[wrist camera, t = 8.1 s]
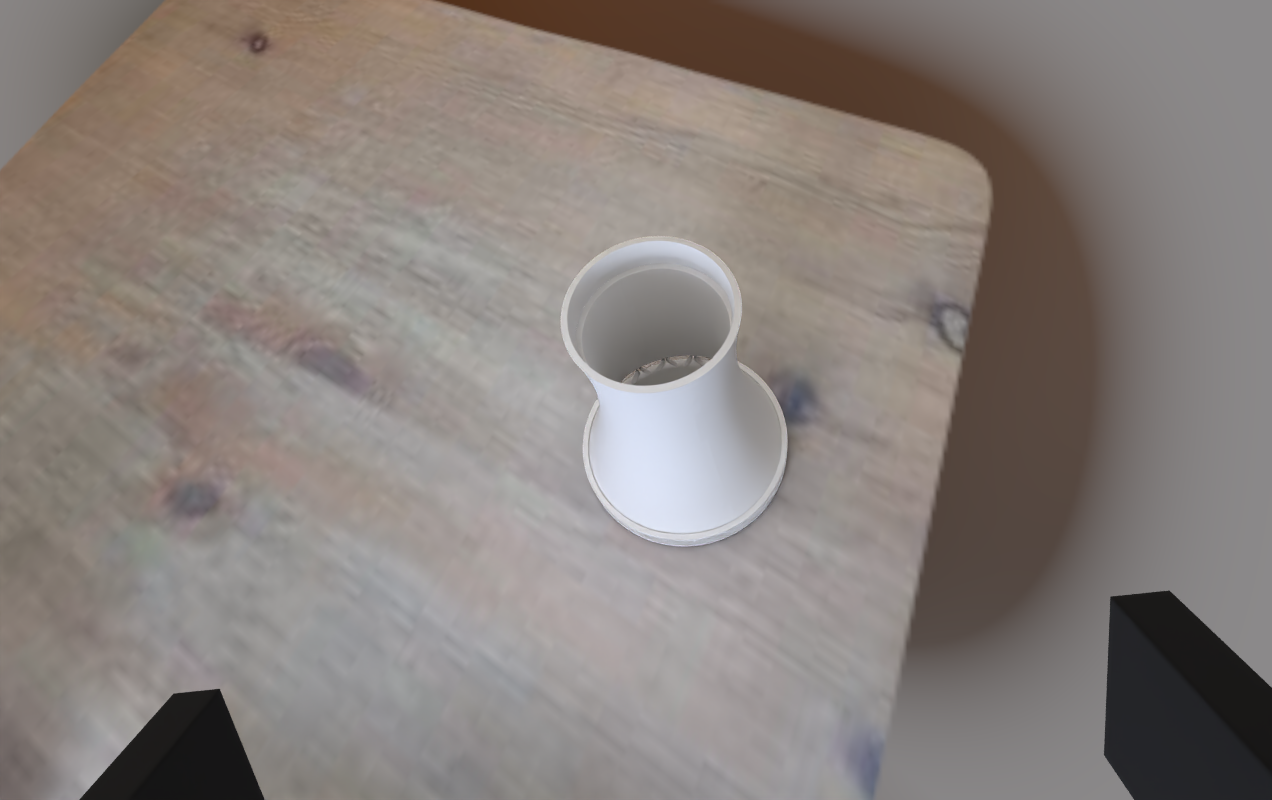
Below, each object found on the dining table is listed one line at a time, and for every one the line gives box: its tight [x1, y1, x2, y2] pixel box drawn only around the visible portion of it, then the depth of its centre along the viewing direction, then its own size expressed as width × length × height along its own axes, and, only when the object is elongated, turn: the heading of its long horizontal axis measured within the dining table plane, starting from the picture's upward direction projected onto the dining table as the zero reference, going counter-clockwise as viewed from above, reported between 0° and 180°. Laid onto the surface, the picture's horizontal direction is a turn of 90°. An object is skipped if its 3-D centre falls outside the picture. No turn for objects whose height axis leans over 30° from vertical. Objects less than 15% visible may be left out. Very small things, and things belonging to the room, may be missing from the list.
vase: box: [561, 236, 787, 546], centre depth 25 cm, size 8×8×10 cm
